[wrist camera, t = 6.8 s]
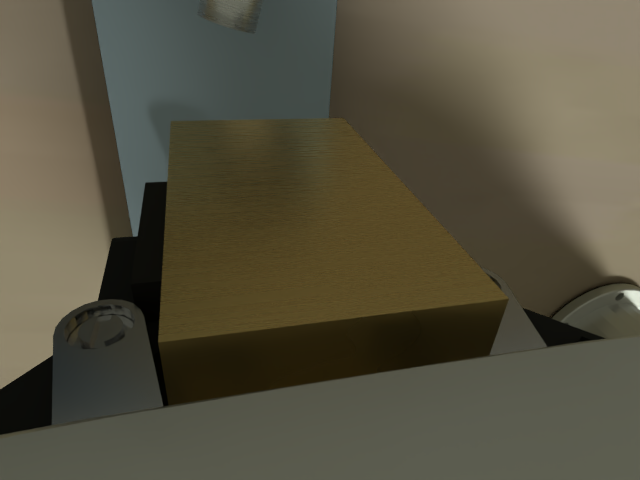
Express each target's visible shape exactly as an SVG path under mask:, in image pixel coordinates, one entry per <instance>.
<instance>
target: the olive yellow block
mask: <svg viewBox="0 0 640 480" xmlns="http://www.w3.org/2000/svg"><path fill="white" fill-rule="evenodd" d="M508 301H509V298H508V297H507V296H506V295H505V294H504V293H503V292H502V291H501V289H500V288H499V287H498V286H497V285H496V284H495V283H494V282H493V281H492V280H491V279H490V277H489V276H488V275H487V274H486V273H485V272H484V271H483V270H482V269H481V268H480V267H479V265H478V264H477V263H476V262H475V261H474V260H473V259H472V258H471V257H470V256H469V255H468V253H467V252H466V251H465V250H464V249H463V248H462V247H461V246H460V245H459V244H458V243H457V241H456V240H455V239H454V238H453V237H452V236H451V235H450V234H449V233H448V232H447V231H446V229H445V228H444V227H443V226H442V225H441V224H440V223H439V222H438V221H437V220H436V219H435V218H434V216H433V215H432V214H431V213H430V212H429V211H428V210H427V209H426V208H425V207H424V206H423V204H422V203H421V202H420V201H419V200H418V199H417V198H416V197H415V196H414V195H413V194H412V192H411V191H410V190H409V189H408V188H407V187H406V186H405V185H404V184H403V183H402V182H401V180H400V179H399V178H398V177H397V176H396V175H395V174H394V173H393V172H392V171H391V170H390V168H389V167H388V166H387V165H386V164H385V163H384V162H383V161H382V160H381V159H380V158H379V156H378V155H377V154H376V153H375V152H374V151H373V150H372V149H371V148H370V147H369V146H368V144H367V143H366V142H365V141H364V140H363V139H362V138H361V137H360V136H359V135H358V134H357V132H356V131H355V130H354V129H353V128H352V127H351V126H350V125H349V124H348V123H347V122H346V120H345V119H344V118H314V119H255V120H196V121H171V126H170V144H169V161H168V179H167V196H166V214H165V231H164V249H163V267H162V284H161V302H160V319H159V337H158V344H159V350H160V356H161V362H162V368H163V375H164V381H165V387H166V393H167V399H168V405H175V404H182V403H188V402H194V401H200V400H207V399H213V398H219V397H225V396H232V395H238V394H244V393H250V392H257V391H263V390H269V389H276V388H282V387H288V386H295V385H301V384H308V383H314V382H320V381H327V380H333V379H340V378H346V377H352V376H359V375H365V374H372V373H378V372H385V371H391V370H398V369H404V368H411V367H417V366H424V365H430V364H437V363H443V362H450V361H456V360H463V359H470V358H476V357H483V356H489V355H490V352H491V349H492V346H493V344H494V341H495V338H496V335H497V332H498V329H499V326H500V324H501V321H502V318H503V315H504V312H505V309H506V306H507V303H508Z"/></svg>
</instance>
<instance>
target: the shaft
mask: <svg viewBox="0 0 640 480" xmlns="http://www.w3.org/2000/svg"><path fill="white" fill-rule="evenodd" d="M262 3H263V0H200V1H199V7H198V12H197V15H199V16H200V17H202V18H204V19H206V20H209V21H211V22H214V23H216V24H219V25H222V26H225V27H228V28H231V29H235V30H238V31H242V32H246V33H252V34H255V33H256V28H257V24H258V20H259V16H260V12H261V7H262Z"/></svg>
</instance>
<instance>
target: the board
mask: <svg viewBox="0 0 640 480" xmlns="http://www.w3.org/2000/svg"><path fill="white" fill-rule="evenodd" d="M199 1H200V0H92V5H93V11H94V17H95V22H96V28H97V34H98V39H99V45H100V51H101V57H102V62H103V68H104V74H105V79H106V85H107V91H108V97H109V102H110V108H111V114H112V119H113V125H114V131H115V136H116V142H117V148H118V154H119V159H120V165H121V171H122V176H123V182H124V188H125V194H126V199H127V205H128V211H129V216H130V222H131V228H132V234H133V237H134V236H138V230H139V223H140V216H141V209H142V202H143V195H144V188H145V183H146V182H167V179H168V161H169V144H170V126H171V121H196V120H255V119H314V118H329V106H330V92H331V79H332V65H333V51H334V37H335V23H336V9H337V0H263V3H262V7H261V12H260V16H259V20H258V24H257V28H256V33H255V34H252V33H246V32H242V31H238V30H235V29H231V28H228V27H225V26H222V25H219V24H216V23H214V22H211V21H209V20H206V19H204V18H202V17H200V16H199V15H197V12H198V7H199Z"/></svg>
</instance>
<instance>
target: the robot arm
mask: <svg viewBox="0 0 640 480" xmlns="http://www.w3.org/2000/svg"><path fill="white" fill-rule="evenodd" d="M166 196H167V182H146V183H145V188H144V195H143V202H142V209H141V216H140V223H139V230H138V236H134V237H120V238H113V239H112V242H111V246H110V250H109V254H108V259H107V263H106V267H105V272H104V276H103V280H102V285H101V289H100V293H99V298H98V301H95V302H91V303H88V304H85V305H83V306H81V307H79V308H77V309H75V310H73V311H71V312H70V313H69V314H67V315H66V316H65V317H63V318H62V320H61V321H60V322H59V323H58V325H57V326H56V328H55V332H54V335H53V356H51V357H50V358H48V359H46V360H45V361H43V362H42V363H40V364H39V365H37V366H36V367H34V368H33V369H31V370H30V371H28V372H27V373H25V374H23V375H22V376H20V377H19V378H17V379H16V380H14V381H13V382H11V383H10V384H8V385H7V386H5V387H3V388H2V389H0V480H640V288H639V287H637V286H635V285H632V284H625V283H621V284H611V285H607V286H603V287H599V288H597V289H594V290H592V291H589V292H587V293H585V294H583V295H581V296H580V297H578V298H576V299H575V300H573V301H572V302H570V303H569V304H567V305H566V306H565V307H563V308H562V309H561V310H560V311H559V312H558V313H556V314H555V315H554V316H553V317H552V319H551V318H548V317H546V316H543V315H540V314H537V313H535V312H532V311H529V310H527V309H524V308H522V307H521V305H520V304H519V302H518V301H517V299H516V298H515V296H514V295H513V293H512V291H511V290H510V288H509V287H508V285H507V284H506V283H505V282H504V280H503V279H502V278H501V277H499V276H498V275H496V274H495V273H493V272H491V271H489V270H487V269H485V268H482V267H480V268H481V269H482V270H483V271H484V272H485V273H486V274H487V275H488V276H489V277H490V279H491V280H492V281H493V282H494V283H495V284H496V285H497V286H498V287H499V288H500V289H501V291H502V292H503V293H504V294H505V295H506V296H507V297H508V298H509V301H508V303H507V306H506V309H505V312H504V315H503V318H502V321H501V324H500V326H499V329H498V332H497V335H496V338H495V341H494V344H493V346H492V349H491V352H490V355H489V356H483V357H476V358H470V359H463V360H456V361H450V362H443V363H437V364H430V365H424V366H417V367H411V368H404V369H398V370H391V371H385V372H378V373H372V374H365V375H359V376H352V377H346V378H340V379H333V380H327V381H320V382H314V383H308V384H301V385H295V386H288V387H282V388H276V389H269V390H263V391H257V392H250V393H244V394H238V395H232V396H225V397H219V398H213V399H207V400H200V401H194V402H188V403H182V404H175V405H168V399H167V393H166V387H165V381H164V375H163V368H162V362H161V356H160V350H159V344H158V337H159V319H160V302H161V284H162V267H163V249H164V231H165V214H166Z"/></svg>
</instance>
